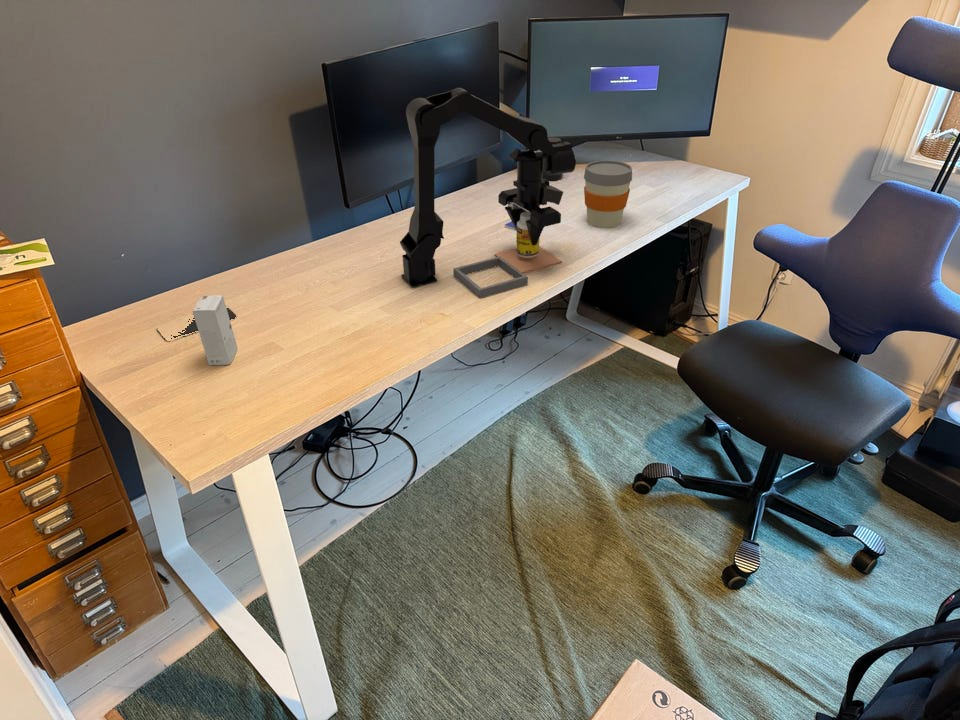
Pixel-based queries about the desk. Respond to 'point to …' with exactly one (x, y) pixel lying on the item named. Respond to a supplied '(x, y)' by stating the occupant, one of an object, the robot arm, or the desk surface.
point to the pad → (529, 260)
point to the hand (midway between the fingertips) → (527, 240)
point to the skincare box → (215, 330)
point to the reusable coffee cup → (606, 192)
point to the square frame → (496, 288)
